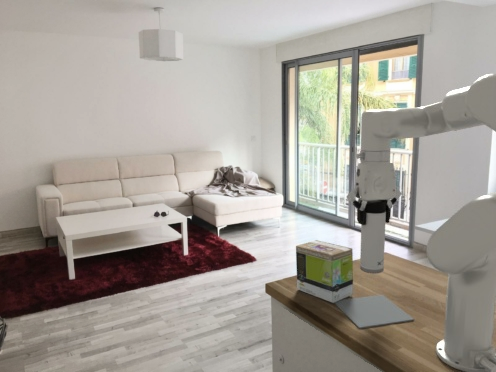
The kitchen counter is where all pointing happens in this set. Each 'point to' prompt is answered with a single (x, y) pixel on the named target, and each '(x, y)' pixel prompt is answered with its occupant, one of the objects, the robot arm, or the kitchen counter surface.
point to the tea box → (325, 270)
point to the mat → (372, 311)
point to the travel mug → (373, 237)
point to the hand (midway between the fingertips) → (373, 222)
